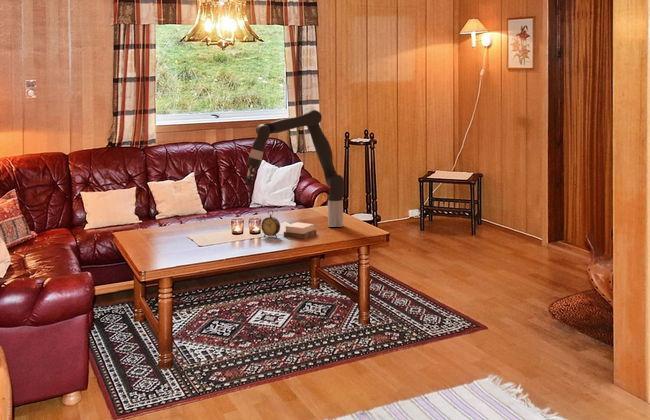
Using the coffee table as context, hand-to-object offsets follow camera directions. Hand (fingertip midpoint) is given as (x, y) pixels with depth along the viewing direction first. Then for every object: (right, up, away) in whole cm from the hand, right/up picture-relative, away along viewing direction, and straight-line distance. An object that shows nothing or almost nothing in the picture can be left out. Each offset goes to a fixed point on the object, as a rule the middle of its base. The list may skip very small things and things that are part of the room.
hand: (247, 184), depth 418 cm
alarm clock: (+14, -31, 0) cm, 34 cm away
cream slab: (+30, -27, +3) cm, 41 cm away
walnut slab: (+31, -31, +3) cm, 44 cm away
